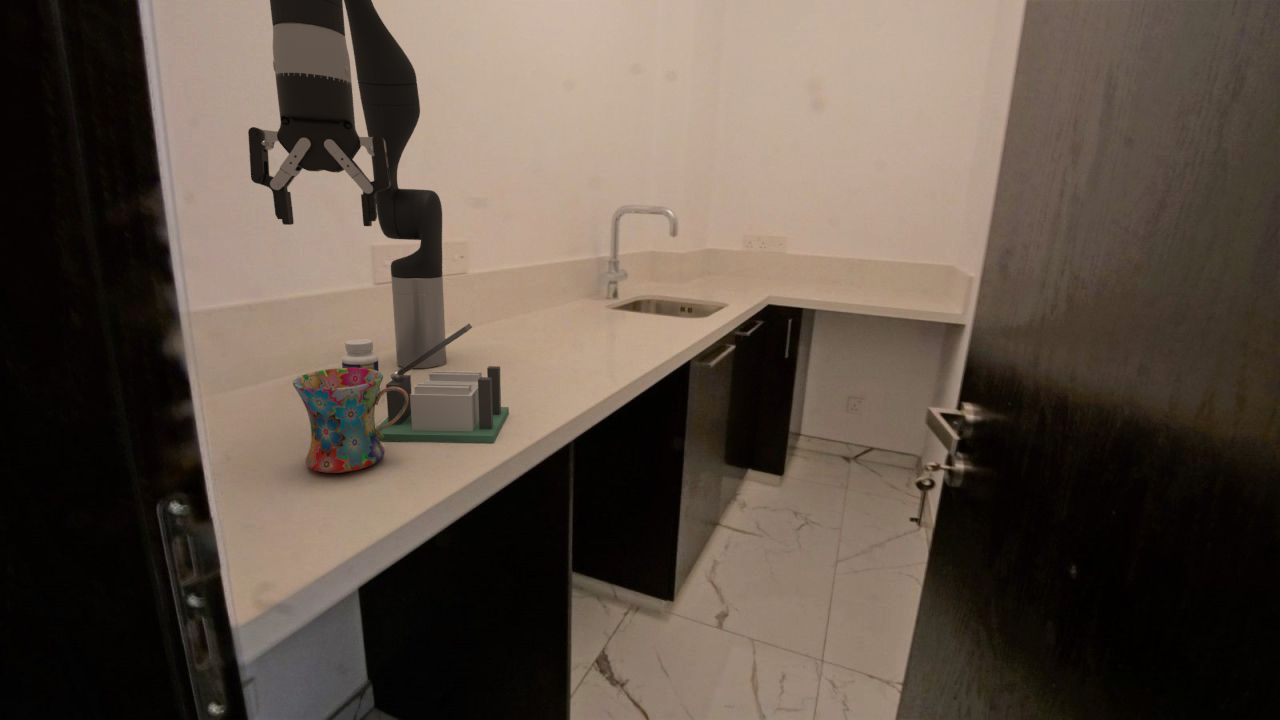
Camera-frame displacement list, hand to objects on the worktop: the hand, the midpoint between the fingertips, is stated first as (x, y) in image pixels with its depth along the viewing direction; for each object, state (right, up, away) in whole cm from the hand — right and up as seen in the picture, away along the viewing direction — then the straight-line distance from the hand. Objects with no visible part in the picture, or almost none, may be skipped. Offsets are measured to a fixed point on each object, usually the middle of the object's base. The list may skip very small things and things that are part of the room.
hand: (328, 225), depth 70 cm
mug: (+3, -29, +1) cm, 29 cm away
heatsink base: (+9, -25, +13) cm, 30 cm away
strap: (+9, -15, +11) cm, 21 cm away
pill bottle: (-8, -22, +26) cm, 35 cm away
